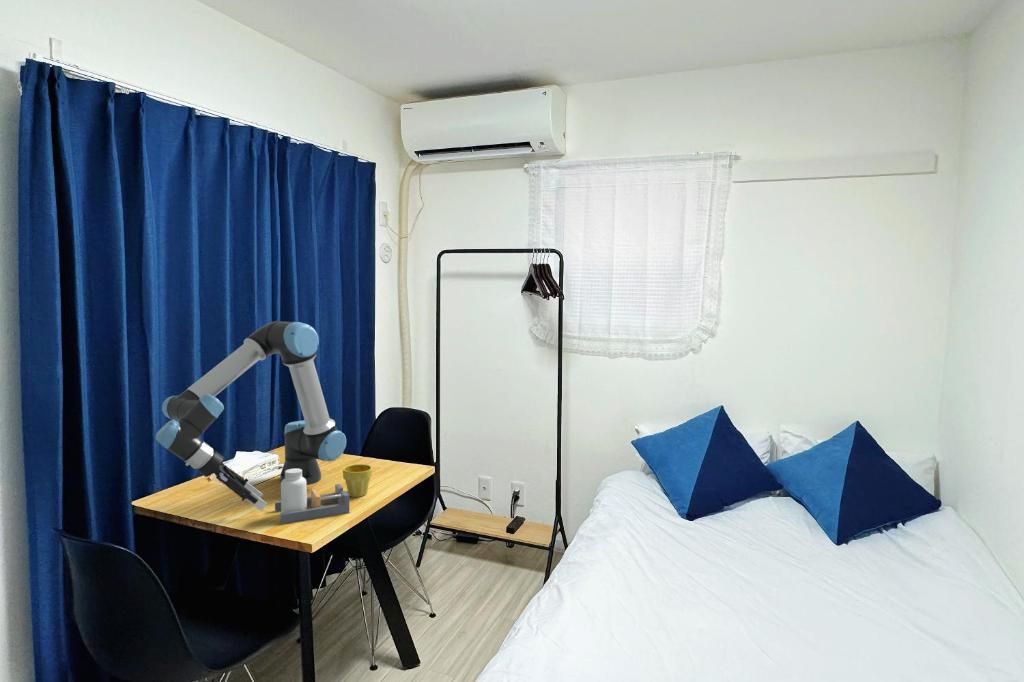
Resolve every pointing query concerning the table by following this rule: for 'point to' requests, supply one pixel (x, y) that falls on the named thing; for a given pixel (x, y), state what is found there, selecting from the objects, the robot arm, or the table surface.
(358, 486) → the plant pot
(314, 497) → the pusher
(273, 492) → the table surface
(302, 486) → the pill bottle
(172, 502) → the table surface
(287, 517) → the lane
